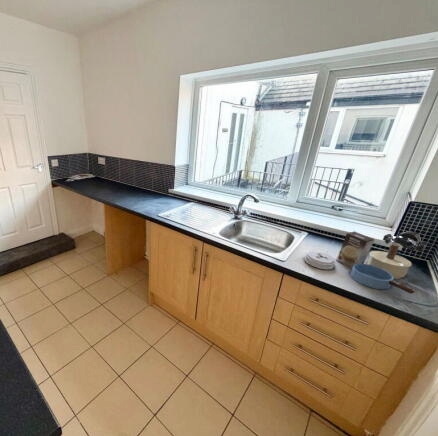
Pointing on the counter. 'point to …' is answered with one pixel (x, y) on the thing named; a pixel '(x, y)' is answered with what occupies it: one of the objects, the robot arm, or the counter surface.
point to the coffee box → (354, 249)
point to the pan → (375, 277)
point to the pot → (389, 268)
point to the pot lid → (390, 257)
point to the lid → (320, 260)
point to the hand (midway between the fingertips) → (398, 245)
